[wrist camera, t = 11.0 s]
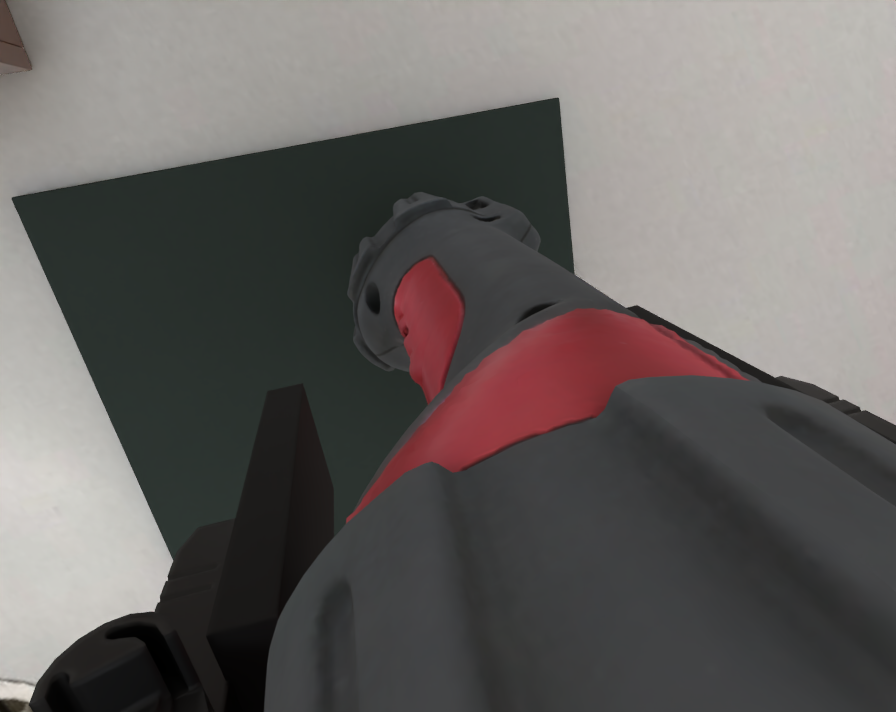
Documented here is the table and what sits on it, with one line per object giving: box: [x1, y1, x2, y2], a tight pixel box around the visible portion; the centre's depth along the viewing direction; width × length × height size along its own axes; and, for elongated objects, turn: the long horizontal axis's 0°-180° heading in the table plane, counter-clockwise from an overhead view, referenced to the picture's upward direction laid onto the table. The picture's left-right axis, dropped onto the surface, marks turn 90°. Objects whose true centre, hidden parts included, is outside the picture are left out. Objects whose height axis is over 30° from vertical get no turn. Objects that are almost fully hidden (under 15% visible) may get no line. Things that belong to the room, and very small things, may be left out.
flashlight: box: [264, 192, 896, 712], centre depth 14 cm, size 8×8×23 cm
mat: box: [12, 98, 574, 561], centre depth 33 cm, size 24×40×1 cm, turn 10°
